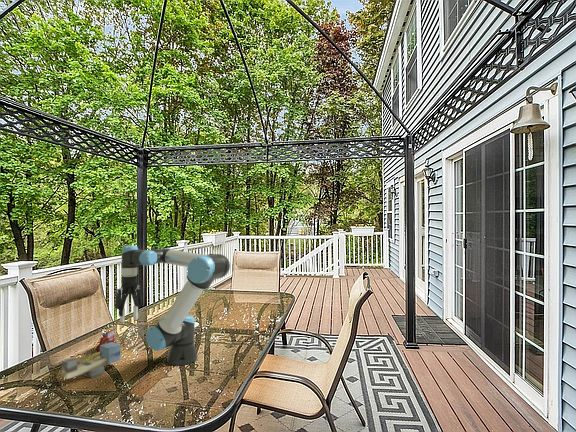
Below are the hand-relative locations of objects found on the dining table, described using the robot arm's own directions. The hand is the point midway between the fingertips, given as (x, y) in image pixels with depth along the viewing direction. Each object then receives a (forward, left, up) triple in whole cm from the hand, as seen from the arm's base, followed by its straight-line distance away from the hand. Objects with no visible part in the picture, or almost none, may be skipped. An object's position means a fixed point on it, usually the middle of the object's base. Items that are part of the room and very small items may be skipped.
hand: (128, 320), depth 182 cm
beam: (0, +18, -21) cm, 28 cm away
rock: (+16, +12, -22) cm, 29 cm away
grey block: (0, +10, -17) cm, 20 cm away
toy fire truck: (+24, -3, -21) cm, 32 cm away
